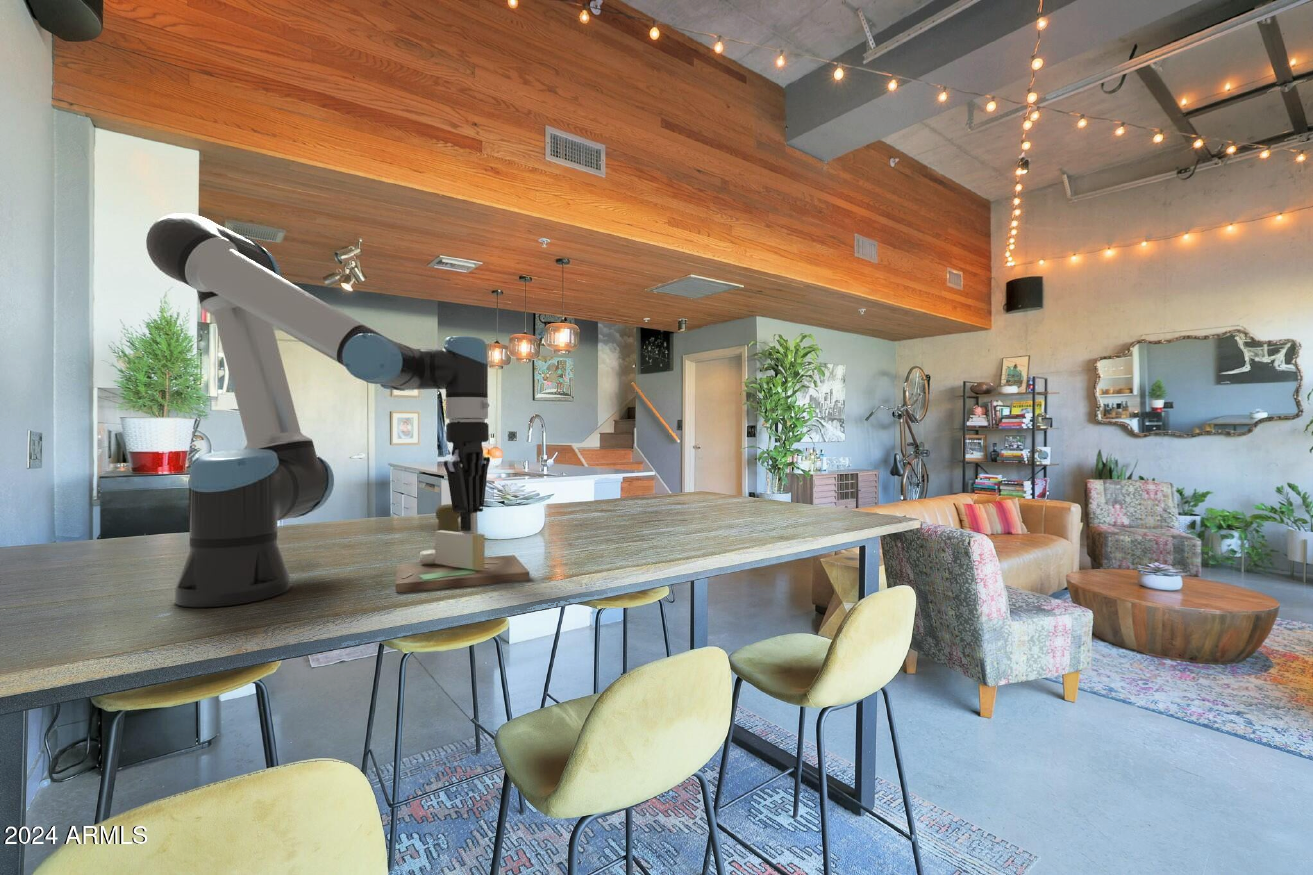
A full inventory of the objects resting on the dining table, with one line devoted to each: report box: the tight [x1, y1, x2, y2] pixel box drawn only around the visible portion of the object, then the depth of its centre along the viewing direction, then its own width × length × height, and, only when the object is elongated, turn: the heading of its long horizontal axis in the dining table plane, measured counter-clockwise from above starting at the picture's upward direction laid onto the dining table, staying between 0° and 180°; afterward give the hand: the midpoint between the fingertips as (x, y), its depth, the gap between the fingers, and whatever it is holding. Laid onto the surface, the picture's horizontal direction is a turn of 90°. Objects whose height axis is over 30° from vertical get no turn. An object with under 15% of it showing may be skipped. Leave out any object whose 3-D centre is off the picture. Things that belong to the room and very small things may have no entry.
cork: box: [433, 503, 461, 550], centre depth 127 cm, size 6×6×11 cm
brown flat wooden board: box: [395, 554, 530, 594], centre depth 109 cm, size 22×16×2 cm
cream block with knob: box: [419, 530, 486, 570], centre depth 109 cm, size 15×4×6 cm, turn 61°
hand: (469, 547), depth 110 cm, fingers closed
